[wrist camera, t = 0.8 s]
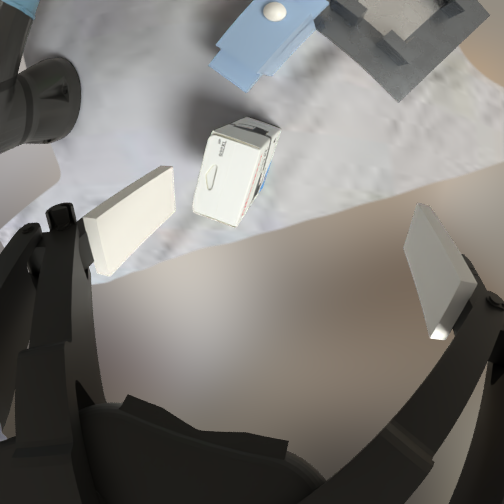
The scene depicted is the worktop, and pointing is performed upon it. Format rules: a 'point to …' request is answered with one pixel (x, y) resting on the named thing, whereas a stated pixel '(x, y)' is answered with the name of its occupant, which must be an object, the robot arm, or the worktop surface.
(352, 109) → the worktop surface
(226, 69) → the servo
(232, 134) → the ink box
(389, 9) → the chassis pocket
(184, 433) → the robot arm
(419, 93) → the worktop surface
